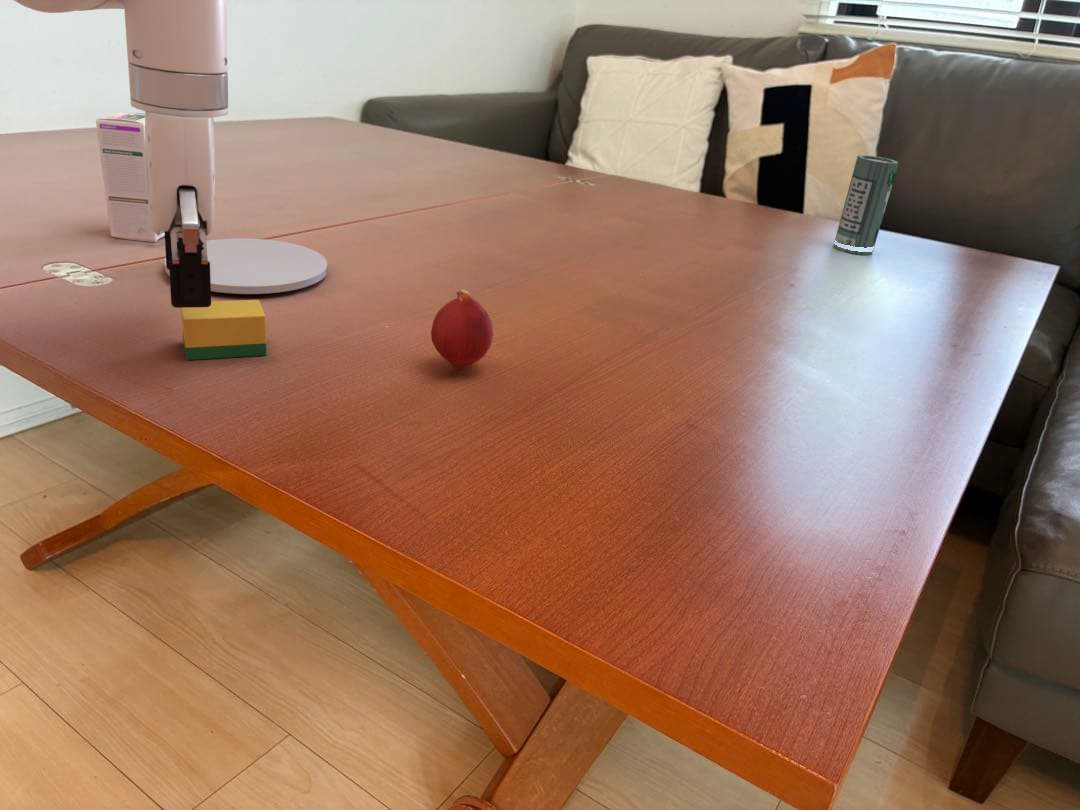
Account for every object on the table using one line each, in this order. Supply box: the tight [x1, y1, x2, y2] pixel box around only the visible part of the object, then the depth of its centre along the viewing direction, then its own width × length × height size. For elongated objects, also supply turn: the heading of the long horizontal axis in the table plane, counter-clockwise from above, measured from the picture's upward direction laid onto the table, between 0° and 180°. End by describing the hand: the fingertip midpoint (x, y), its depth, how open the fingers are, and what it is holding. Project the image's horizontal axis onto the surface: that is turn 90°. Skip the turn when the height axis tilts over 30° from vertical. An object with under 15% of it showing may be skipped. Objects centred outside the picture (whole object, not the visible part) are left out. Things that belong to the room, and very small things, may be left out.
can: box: [833, 154, 900, 256], centre depth 140 cm, size 6×6×15 cm
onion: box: [430, 289, 494, 370], centre depth 80 cm, size 6×6×8 cm
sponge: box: [180, 299, 268, 361], centre depth 79 cm, size 7×4×4 cm, turn 114°
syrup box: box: [95, 111, 165, 243], centre depth 105 cm, size 6×6×14 cm
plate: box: [163, 237, 328, 295], centre depth 99 cm, size 18×18×2 cm
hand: (187, 286), depth 78 cm, fingers open, 9 cm apart
